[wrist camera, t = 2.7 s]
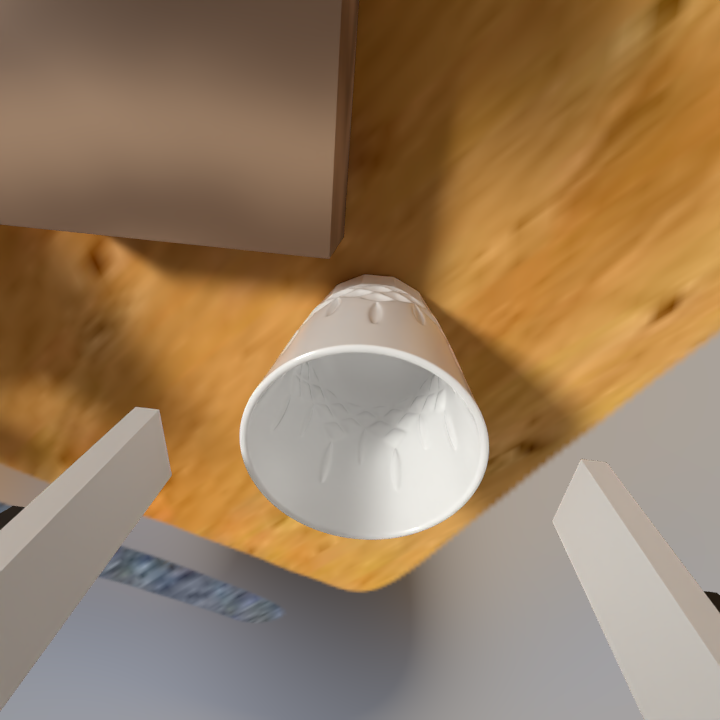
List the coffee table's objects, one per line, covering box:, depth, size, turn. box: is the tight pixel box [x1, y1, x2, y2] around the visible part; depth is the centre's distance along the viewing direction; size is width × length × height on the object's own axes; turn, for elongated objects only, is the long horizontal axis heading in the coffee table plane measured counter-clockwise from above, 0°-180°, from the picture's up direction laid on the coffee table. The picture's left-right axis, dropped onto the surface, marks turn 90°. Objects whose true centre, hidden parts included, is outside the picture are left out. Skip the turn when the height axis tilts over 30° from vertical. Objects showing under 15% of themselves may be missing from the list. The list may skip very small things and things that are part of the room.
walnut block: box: [0, 0, 359, 259], centre depth 13 cm, size 14×14×5 cm
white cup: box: [240, 274, 489, 540], centre depth 16 cm, size 8×8×10 cm
